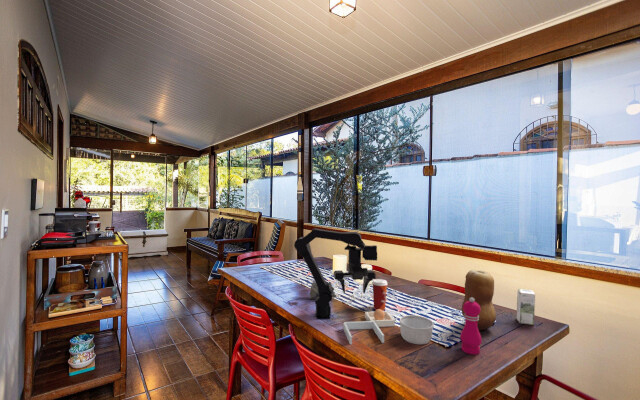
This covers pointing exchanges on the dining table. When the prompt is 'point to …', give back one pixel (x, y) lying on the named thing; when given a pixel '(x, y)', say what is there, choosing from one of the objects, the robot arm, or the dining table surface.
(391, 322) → the dish
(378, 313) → the ball
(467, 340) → the pepper mill
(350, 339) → the white c-shaped bracket
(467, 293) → the butternut squash
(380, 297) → the paper cup
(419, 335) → the ramekin
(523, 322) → the syrup box
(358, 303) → the dining table surface
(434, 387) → the dining table surface
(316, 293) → the mineral rock
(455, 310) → the dining table surface
